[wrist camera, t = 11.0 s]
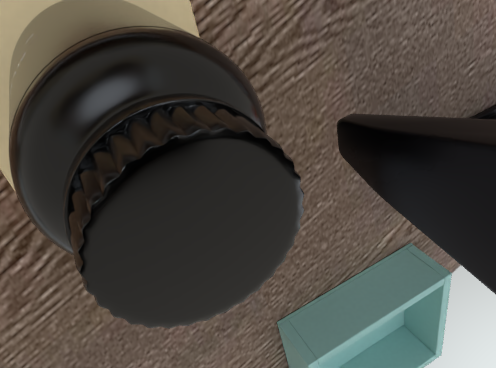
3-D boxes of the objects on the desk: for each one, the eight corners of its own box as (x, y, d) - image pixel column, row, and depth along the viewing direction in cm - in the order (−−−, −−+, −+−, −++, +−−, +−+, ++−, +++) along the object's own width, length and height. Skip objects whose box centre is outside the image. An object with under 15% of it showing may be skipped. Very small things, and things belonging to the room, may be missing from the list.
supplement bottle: (-35, 37, 15) (-116, 191, 5) (138, -35, 16) (315, -14, 7) (70, 182, 19) (129, 413, 9) (200, 114, 20) (363, 256, 11)
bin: (410, 242, 35) (452, 273, 32) (407, 323, 42) (441, 355, 38) (276, 322, 31) (308, 365, 28) (296, 396, 38) (323, 438, 35)
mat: (164, -80, 16) (168, -81, 16) (224, 137, 22) (227, 140, 21) (-115, -8, 13) (-120, -7, 13) (35, 218, 19) (36, 223, 19)
